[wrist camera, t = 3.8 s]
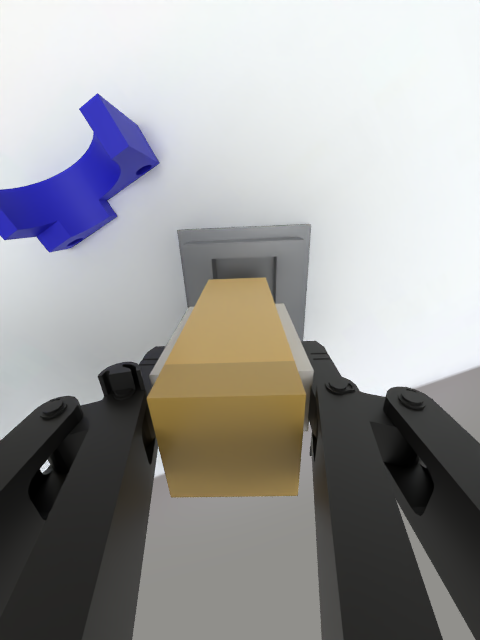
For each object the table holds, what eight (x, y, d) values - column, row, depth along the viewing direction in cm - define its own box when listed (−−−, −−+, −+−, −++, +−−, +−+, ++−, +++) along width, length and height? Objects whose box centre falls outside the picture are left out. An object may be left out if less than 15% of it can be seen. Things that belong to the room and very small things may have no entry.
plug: (213, 330, 19) (171, 497, 8) (208, 279, 17) (146, 398, 6) (265, 329, 19) (297, 495, 8) (265, 277, 17) (306, 394, 6)
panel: (203, 409, 32) (198, 430, 29) (180, 229, 23) (169, 232, 20) (296, 408, 31) (301, 430, 28) (308, 224, 23) (318, 226, 19)
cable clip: (71, 247, 24) (20, 258, 19) (37, 203, 23) (-30, 200, 17) (170, 180, 22) (143, 169, 16) (138, 126, 20) (97, 93, 15)
